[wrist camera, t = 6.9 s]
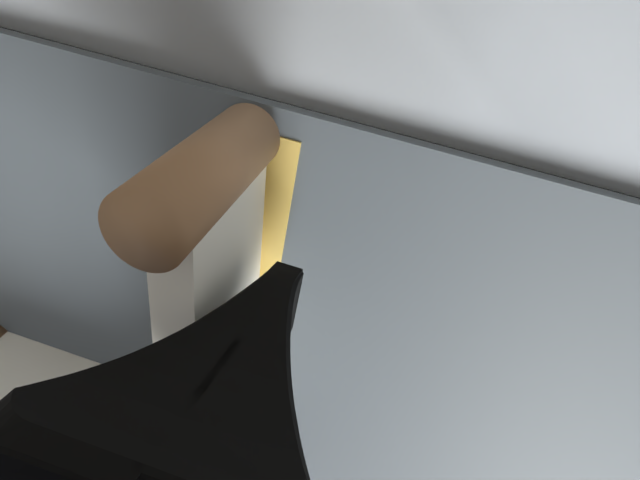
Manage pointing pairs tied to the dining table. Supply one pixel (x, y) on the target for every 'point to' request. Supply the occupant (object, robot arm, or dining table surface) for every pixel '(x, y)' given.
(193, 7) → the dining table surface
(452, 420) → the card
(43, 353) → the fixed fence panel
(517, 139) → the dining table surface
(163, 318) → the hinged fence panel
